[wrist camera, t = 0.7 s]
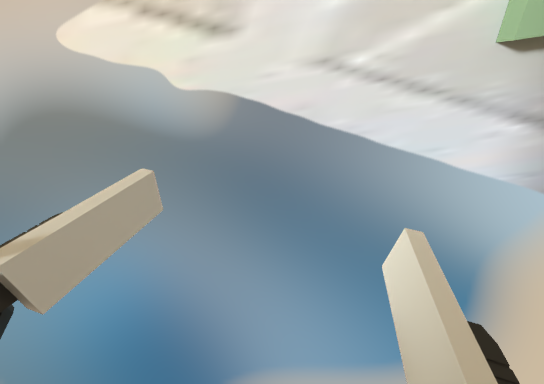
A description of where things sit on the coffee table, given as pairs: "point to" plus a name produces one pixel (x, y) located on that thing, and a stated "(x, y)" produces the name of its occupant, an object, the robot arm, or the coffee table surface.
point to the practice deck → (522, 20)
